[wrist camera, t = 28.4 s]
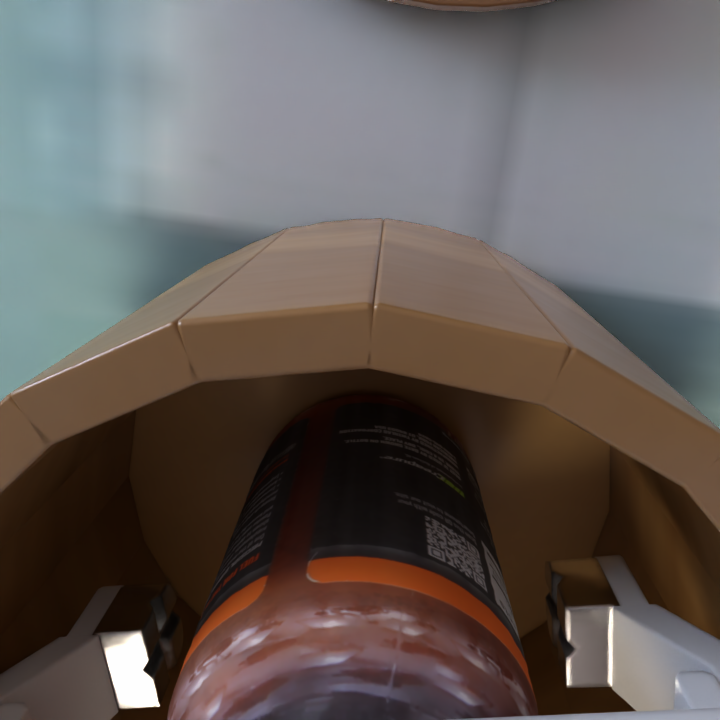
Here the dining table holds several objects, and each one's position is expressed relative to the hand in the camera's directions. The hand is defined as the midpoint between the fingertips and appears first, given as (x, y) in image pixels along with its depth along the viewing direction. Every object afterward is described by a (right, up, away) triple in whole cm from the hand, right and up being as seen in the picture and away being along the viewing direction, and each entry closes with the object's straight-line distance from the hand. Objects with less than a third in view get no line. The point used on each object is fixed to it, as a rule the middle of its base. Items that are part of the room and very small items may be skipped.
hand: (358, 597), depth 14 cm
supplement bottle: (0, +2, +4) cm, 5 cm away
